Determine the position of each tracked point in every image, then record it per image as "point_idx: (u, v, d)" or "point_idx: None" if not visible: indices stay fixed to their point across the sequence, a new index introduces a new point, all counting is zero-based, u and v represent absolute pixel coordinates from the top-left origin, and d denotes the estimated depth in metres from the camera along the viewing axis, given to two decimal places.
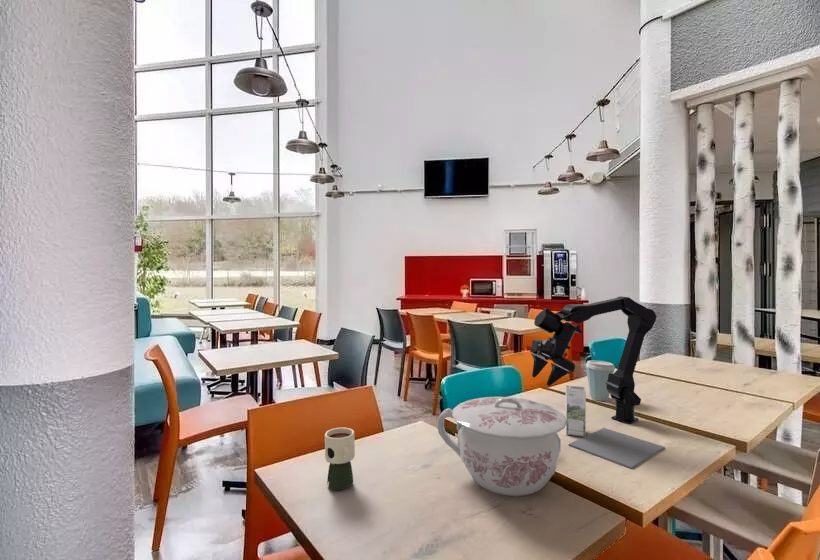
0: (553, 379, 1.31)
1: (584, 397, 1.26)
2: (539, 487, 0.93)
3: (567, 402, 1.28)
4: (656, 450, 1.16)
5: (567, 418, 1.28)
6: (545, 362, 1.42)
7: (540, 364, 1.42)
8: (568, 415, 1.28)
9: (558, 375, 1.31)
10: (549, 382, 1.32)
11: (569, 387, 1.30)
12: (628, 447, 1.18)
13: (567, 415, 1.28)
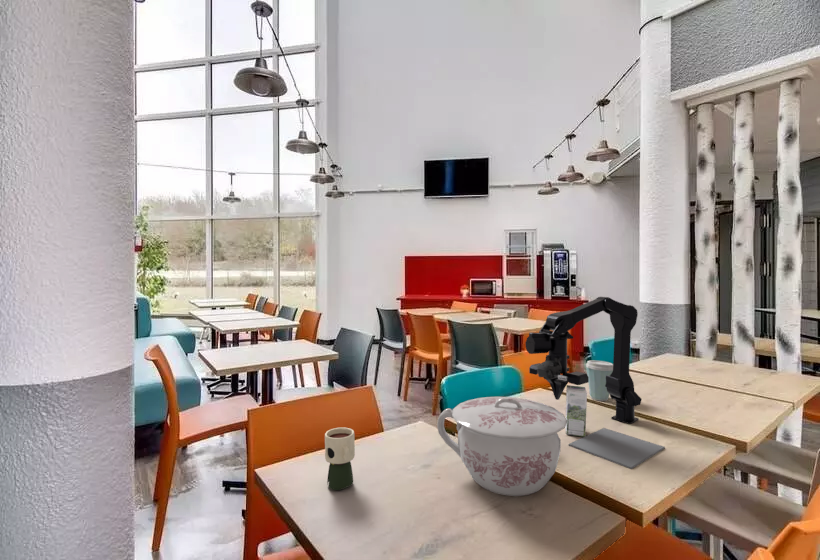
0: (560, 392, 1.34)
1: (585, 397, 1.26)
2: (539, 487, 0.93)
3: (568, 402, 1.28)
4: (656, 450, 1.16)
5: (567, 418, 1.28)
6: None
7: None
8: (568, 415, 1.28)
9: (563, 386, 1.34)
10: (558, 396, 1.34)
11: (570, 387, 1.30)
12: (628, 447, 1.18)
13: (568, 415, 1.28)
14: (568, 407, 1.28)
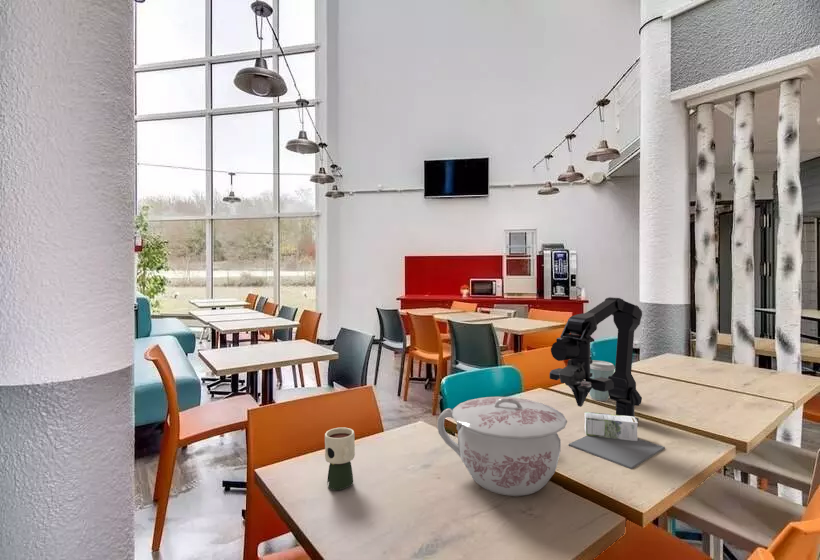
0: (583, 399, 1.28)
1: (631, 439, 1.23)
2: (539, 487, 0.93)
3: (624, 422, 1.23)
4: (656, 450, 1.16)
5: (604, 420, 1.25)
6: None
7: None
8: (608, 421, 1.25)
9: (586, 393, 1.28)
10: (581, 403, 1.28)
11: None
12: (628, 447, 1.18)
13: (608, 421, 1.25)
14: (617, 422, 1.24)
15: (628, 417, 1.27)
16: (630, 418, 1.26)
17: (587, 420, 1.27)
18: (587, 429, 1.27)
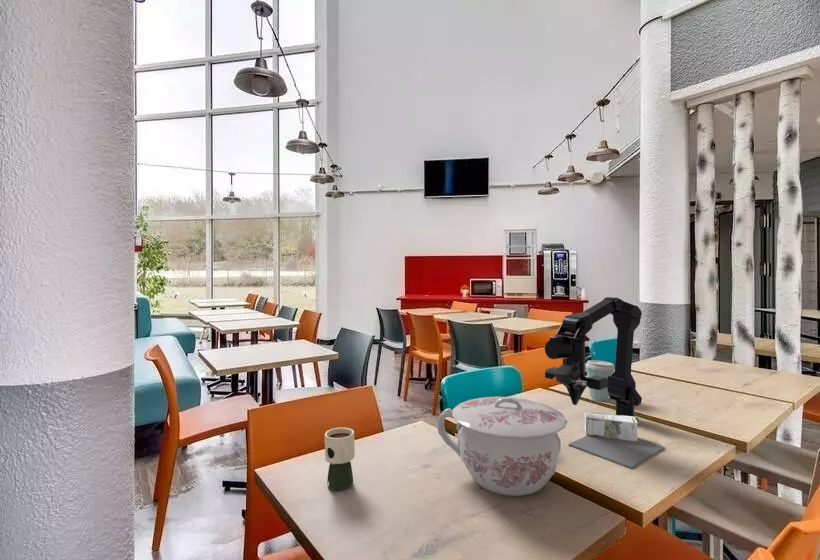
0: (578, 397, 1.29)
1: (631, 439, 1.23)
2: (539, 487, 0.93)
3: (624, 422, 1.23)
4: (656, 450, 1.16)
5: (604, 420, 1.25)
6: (576, 383, 1.32)
7: (574, 388, 1.31)
8: (608, 421, 1.25)
9: (581, 391, 1.29)
10: (576, 402, 1.29)
11: None
12: (628, 447, 1.18)
13: (608, 421, 1.25)
14: (617, 422, 1.24)
15: (628, 417, 1.27)
16: (630, 418, 1.26)
17: (587, 420, 1.27)
18: (587, 429, 1.27)
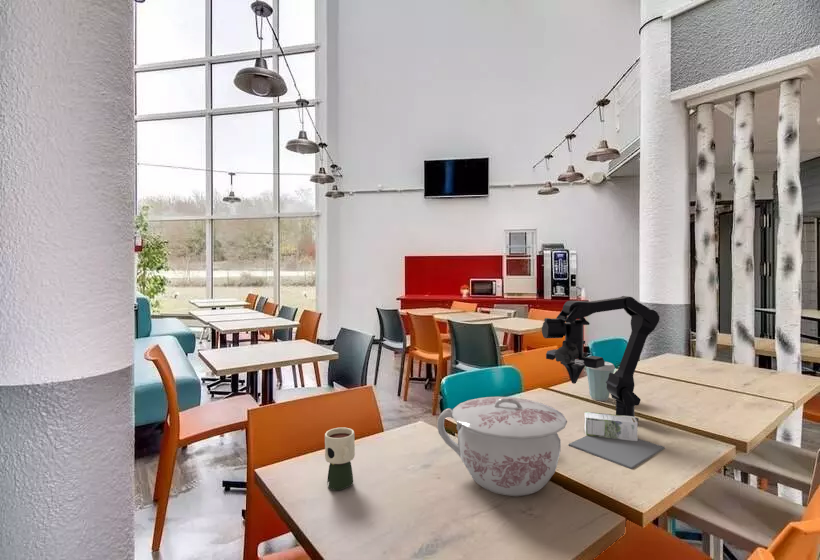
0: (577, 376, 1.39)
1: (631, 439, 1.23)
2: (539, 487, 0.93)
3: (624, 422, 1.23)
4: (656, 450, 1.16)
5: (604, 420, 1.25)
6: None
7: None
8: (608, 421, 1.25)
9: (579, 370, 1.39)
10: (575, 380, 1.39)
11: None
12: (628, 447, 1.18)
13: (608, 421, 1.25)
14: (617, 422, 1.24)
15: (628, 417, 1.27)
16: (630, 418, 1.26)
17: (587, 420, 1.27)
18: (587, 429, 1.27)
